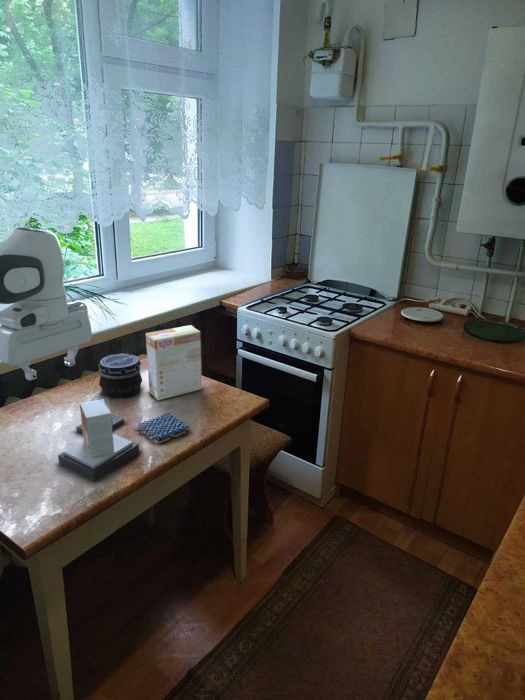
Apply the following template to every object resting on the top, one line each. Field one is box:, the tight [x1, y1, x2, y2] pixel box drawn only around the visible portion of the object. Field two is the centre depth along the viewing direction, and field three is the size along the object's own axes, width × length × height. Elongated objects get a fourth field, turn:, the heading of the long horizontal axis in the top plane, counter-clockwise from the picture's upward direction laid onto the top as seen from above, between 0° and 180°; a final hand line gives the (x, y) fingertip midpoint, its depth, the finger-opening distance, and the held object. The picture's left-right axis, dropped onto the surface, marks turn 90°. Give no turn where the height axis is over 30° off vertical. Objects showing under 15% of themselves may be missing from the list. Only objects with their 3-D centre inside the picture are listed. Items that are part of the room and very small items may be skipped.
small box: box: [79, 398, 114, 457], centre depth 116 cm, size 8×6×10 cm
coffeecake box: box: [145, 324, 203, 401], centre depth 150 cm, size 15×7×20 cm, turn 124°
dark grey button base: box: [75, 413, 125, 435], centre depth 132 cm, size 10×7×3 cm
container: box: [97, 353, 143, 399], centre depth 151 cm, size 13×13×10 cm
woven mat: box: [136, 412, 190, 444], centre depth 131 cm, size 10×11×2 cm
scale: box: [57, 433, 140, 483], centre depth 118 cm, size 14×12×3 cm
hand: (51, 371), depth 105 cm, fingers open, 8 cm apart
